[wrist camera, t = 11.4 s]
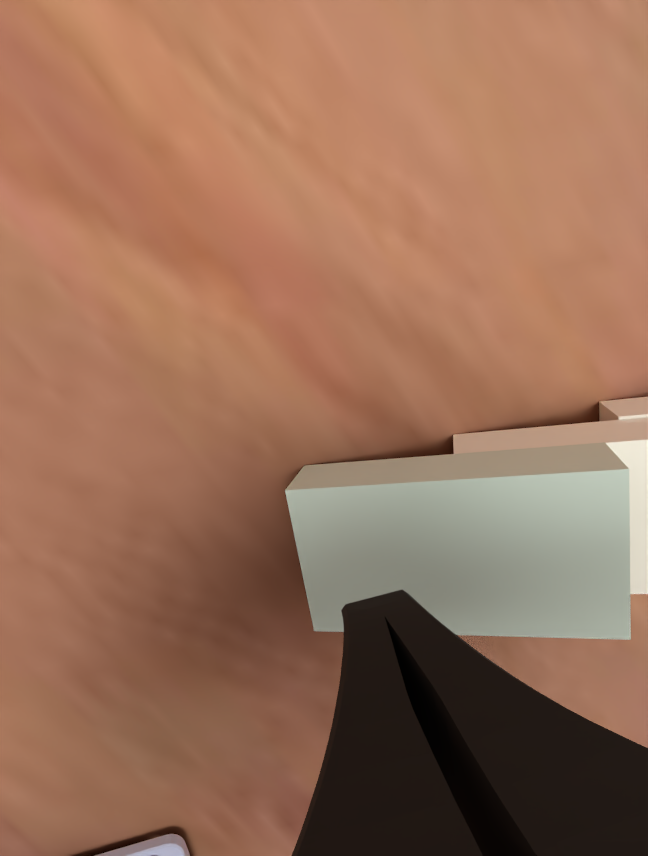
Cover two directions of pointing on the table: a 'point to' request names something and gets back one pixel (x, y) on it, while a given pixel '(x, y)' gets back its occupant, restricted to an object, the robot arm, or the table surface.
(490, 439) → the domino
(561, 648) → the table surface
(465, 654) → the robot arm
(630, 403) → the domino
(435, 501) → the domino
